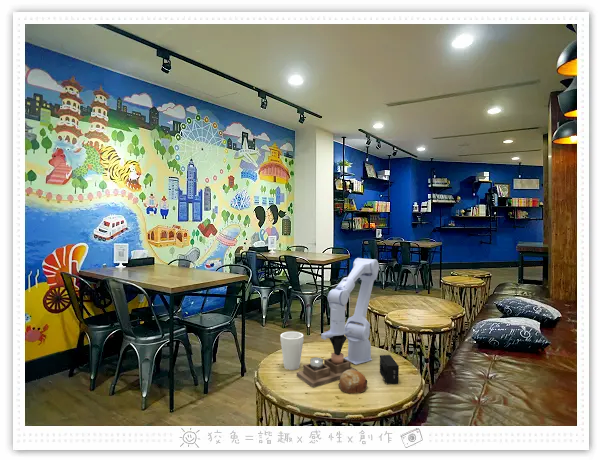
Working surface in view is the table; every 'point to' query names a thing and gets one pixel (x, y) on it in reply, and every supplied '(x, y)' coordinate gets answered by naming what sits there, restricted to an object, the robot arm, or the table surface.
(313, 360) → the grey plunger
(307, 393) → the table surface
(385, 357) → the digital camera
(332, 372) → the brown wooden tray
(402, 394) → the table surface
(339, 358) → the tan rounded piece
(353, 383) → the bread roll
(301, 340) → the foam cup
